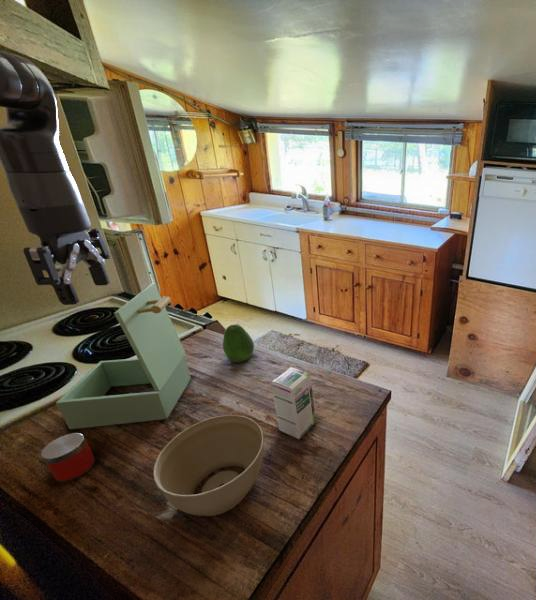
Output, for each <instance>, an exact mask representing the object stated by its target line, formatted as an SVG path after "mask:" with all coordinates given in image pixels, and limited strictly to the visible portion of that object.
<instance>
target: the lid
mask: <svg viewBox="0 0 536 600" xmlns="http://www.w3.org/2000/svg"><path fill="white" fill-rule="evenodd" d="M171 302H172V299H171V297H170V296H167V295H163V296H162V297H161V295H160V293H159V290H158V288H157V285H156V283H150V284H149V285H148V286H146V287H145V288H144V289H143V290H141V291H139V293H137V294H136V295H135V296H133V297H132V298H131V299H129V300H128V301H127V302H126V303H125V304H123V305H122V306H121V307H120V308H118V309H117V310H116V311H115V312H114V311H113V314H114V317H115V318H116V320H117V322H118V324H119V325H120V327H121V329H122V332H123V333H124V335H125V337H126V339H127V341H128V343H129V345H130V347H131V349H132V350H133V352H134V354H135V356H136V359H137V358H138V360H139V361H140V363H141V365H142V367H143V369H144V371H145V373H146V375H147V377H148V378H149V380H150V382H151V383H150V384H151V386H152V388H153V390H154V392H158V391H160V390H161V388H162V387H163V386H164V384H165V383H166V381H167V380H168V378H169V377H170V375H171V374H172V372H173V371H174V369H175V368H176V367H177V365H178V364H179V362H180V361H181V359H182V358H183V356H184V355H185V356H186V350H185V348H184V346H183V344H182V341H181V339H180V337H179V335H178V332H177V330H176V328H175V325H174V324H173V320H172V319H171V317H170V315H169V313H168V310H167V308H166V307H167V306H168V305H169V304H170V303H171Z"/></svg>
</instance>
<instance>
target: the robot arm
mask: <svg viewBox="0 0 536 600" xmlns="http://www.w3.org/2000/svg"><path fill="white" fill-rule="evenodd" d="M0 107H1V108H5V113H6V124H5V125H2V126H0V165H1V167H2V170H3V171H4V175H5V178H6V182H7V186H8V189H9V192H10V193H11V196H12V197H13V200H14V202H15V204H16V207H17V209H18V211H19V214H20V215H21V218H22V221H23V222H24V225H25V227H26V229H27V231H28V232H29V233H30V234H32V235H36V236H37V237H38V238H39V240H40V241H39V242H40V245H39V246H31V247H30V246H29V247H27V246H26V247H24V248H23V251H22V252H23V255H24V257H25V259H26V261H27V264H28V266H29V269H30V271H31V274H32V276H33V279H34V281H35V284H37V285H38V286H49V285H50V286H51V287H52V288H53V290H54V293H55V295H56V296H57V299H58V301H59V302H60V303H61V304H62V305H63V306H70V305H71V306H73V305H75V306H76V305H77V304H78V303H80V299H79V296H78V293H77V291H76V289H75V286H74V284H73V282H71V280H72V279H71V278H72V272H74V271H75V270H76V265H77V264H79V263H80V262H81V261H82V262H83V263H85V264H86V265H87V267H88V268H87V269H88V271H89V274H90V276H91V278H92V281H93V283H94V285H95V286H107V285H109V284H110V283H111V281H110V278H109V275H108V272H107V270H106V267H105V266H106V264H107V262H106V260H110V259H111V254H110V252H109V249H108V246H107V244H106V241H105V239H104V237H103V234H102V231H101V230H100V228H92V223H91V220H90V218H89V214H88V212H87V209H86V206H85V204H84V201H83V197H82V195H81V193H80V190H79V187H78V185H77V183H76V181H75V179H74V177H73V176H72V173H71V171H70V169H69V166H68V163H67V160H66V157H65V154H64V153H63V149H62V147H61V145H60V139H59V136H60V134H59V133H60V131H59V130H60V129H59V128H60V127H59V117H58V105H57V98H56V95H55V91H54V88H53V86H52V85H51V82H50V81H49V80H48V78H47V76H46V75H45V74H44V72H43V71H42V70H41V69H40V68H39V66H37V65H35V63H33V62H32V61H31V60H29V59H27V58H26V57H23V56H22V55H21V56H20V55H18V54H14V53H11V52H7V51H3V50H0ZM98 249H99V250H100V251H99V250H98ZM57 263H58V264H57ZM44 272H46V273H47V275H46V276H45V275H44ZM59 272H61V276H60V274H59Z"/></svg>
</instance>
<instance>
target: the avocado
mask: <svg viewBox="0 0 536 600" xmlns="http://www.w3.org/2000/svg"><path fill="white" fill-rule="evenodd" d="M222 348H223V353H224V354H225V356H226V357H227V359H228V360H229V361H231V362H232V363H243V362H246V361H248V360H249V359H250V358H251V356H252V355H253V353H254V349H255V344H254V340H253V338H252V337H251V336H250V334H249V333H248V332H247V331H246V330H245V329H244V327H243V326H241V325H240V324H238V323H235V324H230V325H229V326H227V327H226V328H225V330H224V333H223V340H222Z"/></svg>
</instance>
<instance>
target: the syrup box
mask: <svg viewBox="0 0 536 600" xmlns="http://www.w3.org/2000/svg"><path fill="white" fill-rule="evenodd" d="M270 384H271V390H272V396H273V403H274V407H275V413H276V419H277V424H278V430H279V431H281V433H282V432H283V433H284V434H287V435H289V436H291V437H292V438H295V439H298V440H300V439H301V438H303V436H305V434H306V433H307V432H308V431H309V430H310V429H311V428H312V427H313V425H315V423H317V421H316V411H315V404H314V394H313V383H312V375H311V374H310V373H308V372H307V371H304V370H301V369H298V368H295V367H291V366H290V367H289V368H288V369H287V370H285V371H284V372H282V373H281V374H279V375H278V376H277V377H275V378H274V379H272V380H271V381H270Z"/></svg>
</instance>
